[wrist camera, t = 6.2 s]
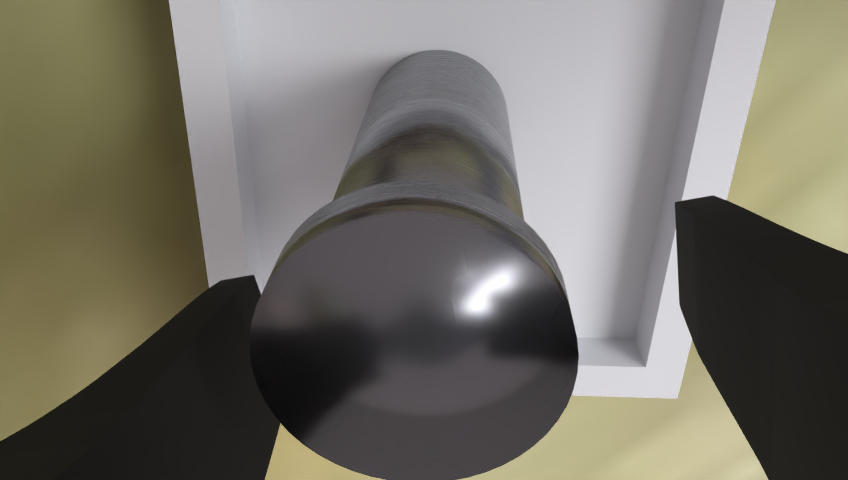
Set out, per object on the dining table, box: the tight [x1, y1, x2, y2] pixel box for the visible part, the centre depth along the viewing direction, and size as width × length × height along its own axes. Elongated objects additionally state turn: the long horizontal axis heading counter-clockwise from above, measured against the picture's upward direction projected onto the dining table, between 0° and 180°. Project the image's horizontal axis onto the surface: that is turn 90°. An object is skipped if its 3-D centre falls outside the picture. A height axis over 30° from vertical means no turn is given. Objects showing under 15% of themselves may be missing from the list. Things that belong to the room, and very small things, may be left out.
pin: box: [249, 50, 579, 480], centre depth 13 cm, size 4×4×9 cm
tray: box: [169, 0, 776, 399], centre depth 17 cm, size 12×12×2 cm
